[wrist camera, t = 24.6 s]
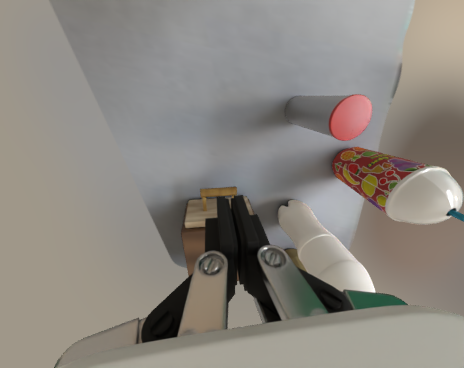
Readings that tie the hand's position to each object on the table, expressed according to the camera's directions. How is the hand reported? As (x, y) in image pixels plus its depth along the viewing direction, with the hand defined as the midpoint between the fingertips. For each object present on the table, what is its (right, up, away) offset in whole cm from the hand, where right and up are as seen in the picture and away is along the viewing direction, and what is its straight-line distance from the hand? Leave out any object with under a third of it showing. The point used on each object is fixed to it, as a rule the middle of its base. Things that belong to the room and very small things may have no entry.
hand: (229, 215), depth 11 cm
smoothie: (+23, +7, +24) cm, 34 cm away
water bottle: (+13, -4, +28) cm, 31 cm away
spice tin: (+11, +14, +18) cm, 26 cm away
